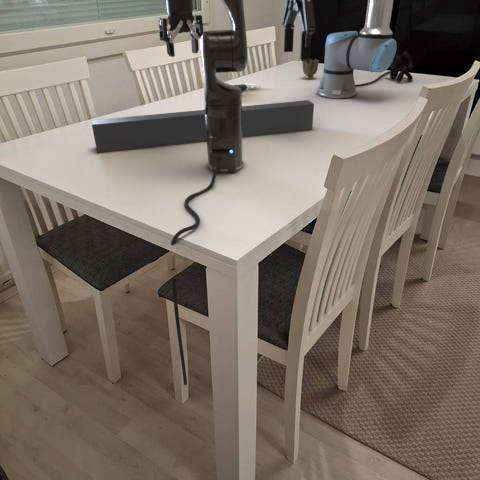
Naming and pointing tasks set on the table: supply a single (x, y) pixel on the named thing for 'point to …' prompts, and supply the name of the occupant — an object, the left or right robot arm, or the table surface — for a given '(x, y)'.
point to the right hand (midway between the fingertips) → (296, 55)
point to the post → (197, 126)
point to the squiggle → (401, 67)
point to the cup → (310, 67)
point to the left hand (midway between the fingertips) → (183, 54)
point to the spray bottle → (247, 86)
